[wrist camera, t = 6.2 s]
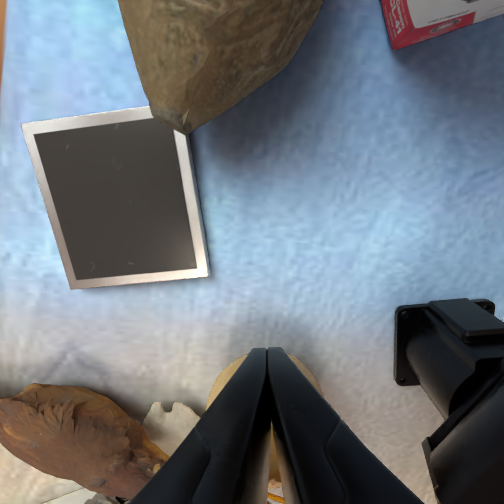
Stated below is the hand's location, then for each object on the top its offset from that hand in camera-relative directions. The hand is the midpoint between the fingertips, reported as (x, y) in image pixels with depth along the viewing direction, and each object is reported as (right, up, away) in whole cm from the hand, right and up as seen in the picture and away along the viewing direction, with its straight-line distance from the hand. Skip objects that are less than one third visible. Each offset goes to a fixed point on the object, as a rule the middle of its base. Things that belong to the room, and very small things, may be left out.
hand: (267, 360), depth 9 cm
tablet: (-9, +7, +11) cm, 16 cm away
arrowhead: (-4, -9, +15) cm, 18 cm away
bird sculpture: (-15, -9, +16) cm, 24 cm away
